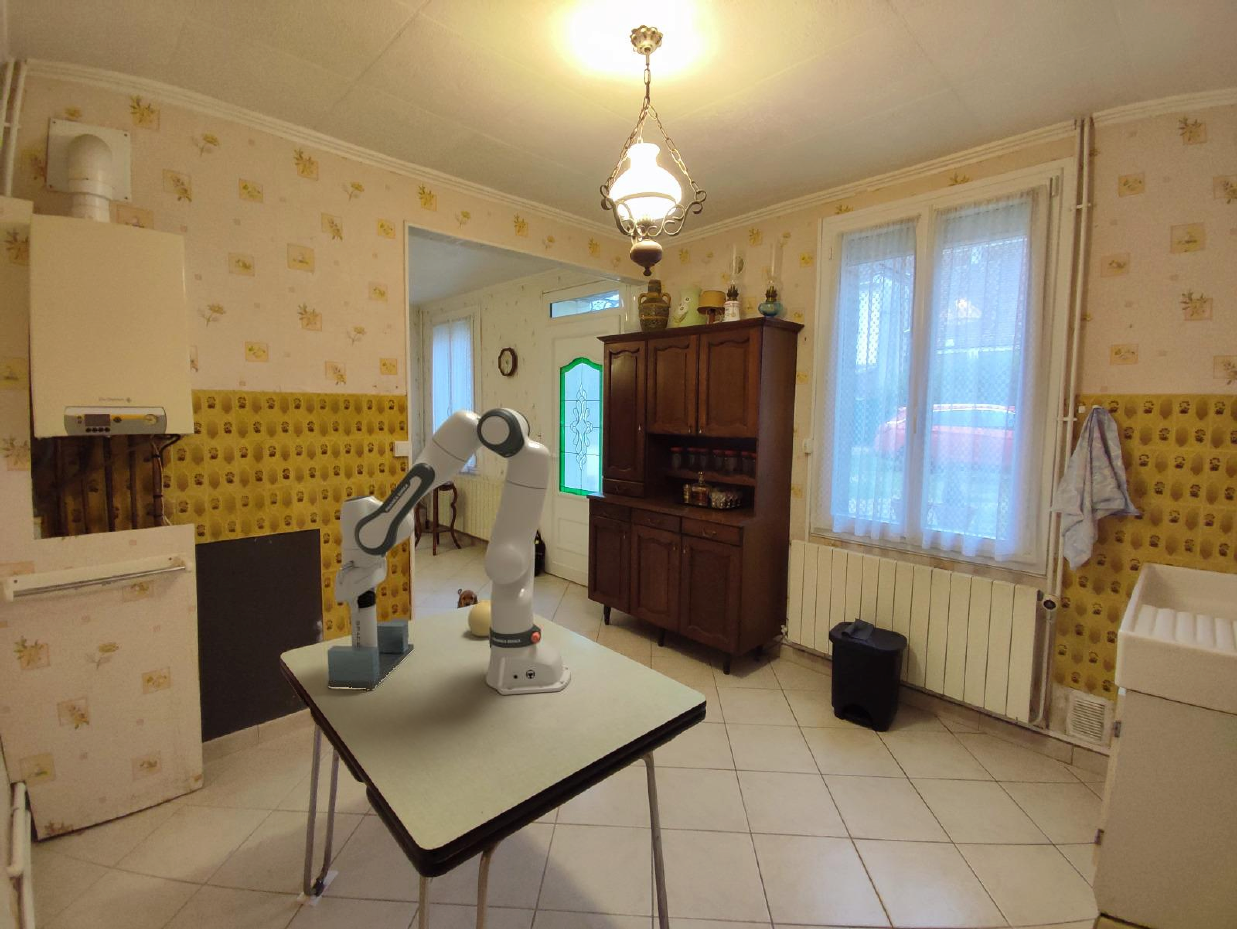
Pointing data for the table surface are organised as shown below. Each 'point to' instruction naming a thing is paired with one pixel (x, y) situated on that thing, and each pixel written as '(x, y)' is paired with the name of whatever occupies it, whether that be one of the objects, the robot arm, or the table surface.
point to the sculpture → (480, 618)
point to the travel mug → (365, 621)
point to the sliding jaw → (393, 636)
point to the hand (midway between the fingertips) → (363, 607)
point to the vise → (361, 665)
